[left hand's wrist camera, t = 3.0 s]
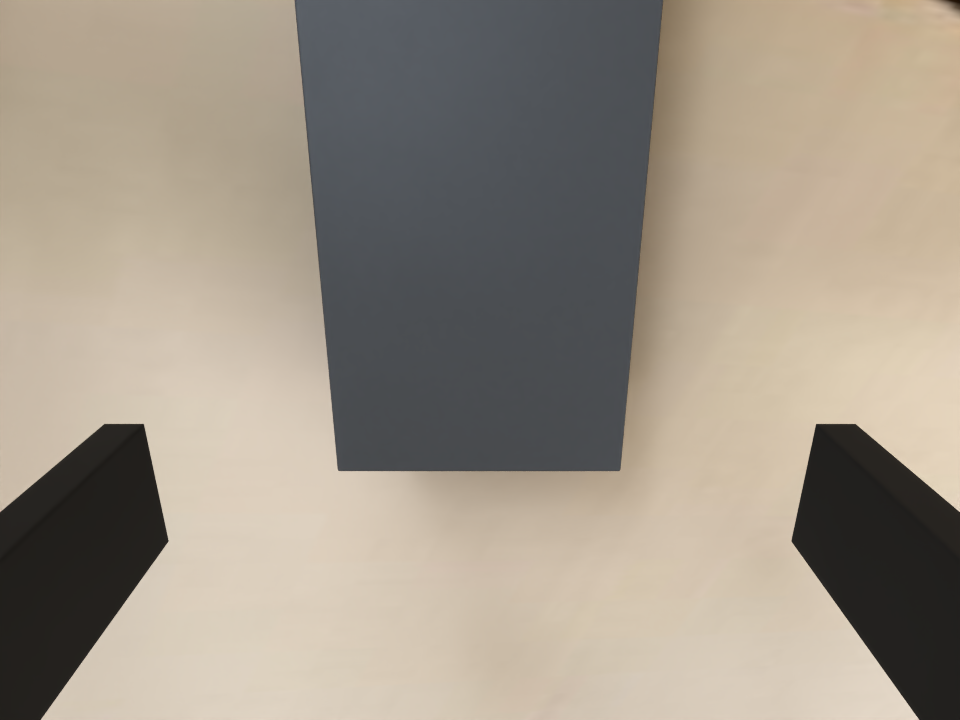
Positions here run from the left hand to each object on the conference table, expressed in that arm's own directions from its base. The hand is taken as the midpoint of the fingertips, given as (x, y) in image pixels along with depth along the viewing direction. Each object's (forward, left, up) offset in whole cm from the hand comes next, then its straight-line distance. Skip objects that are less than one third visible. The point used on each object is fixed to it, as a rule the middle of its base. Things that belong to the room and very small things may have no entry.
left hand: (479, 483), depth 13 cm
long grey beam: (+19, +32, -15) cm, 40 cm away
